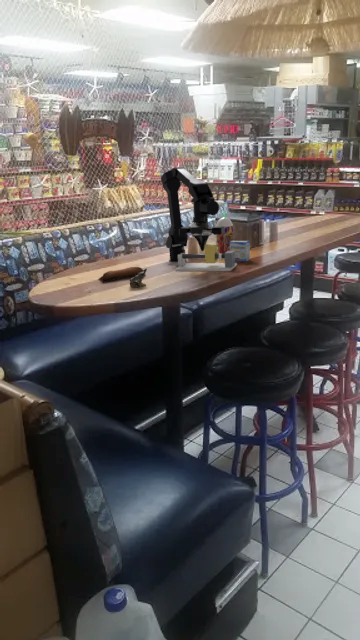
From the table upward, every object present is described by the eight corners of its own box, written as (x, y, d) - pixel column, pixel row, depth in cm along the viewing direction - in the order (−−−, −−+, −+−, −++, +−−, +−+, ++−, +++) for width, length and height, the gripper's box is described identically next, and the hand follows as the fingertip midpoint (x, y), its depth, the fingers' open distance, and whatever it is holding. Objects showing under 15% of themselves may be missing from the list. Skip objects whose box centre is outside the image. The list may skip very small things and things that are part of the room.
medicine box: (230, 261, 231) (229, 241, 229) (233, 259, 235) (233, 240, 232) (246, 261, 228) (246, 242, 225) (250, 259, 231) (249, 240, 229)
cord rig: (175, 270, 220) (174, 254, 218) (184, 264, 230) (183, 249, 228) (230, 271, 211) (229, 254, 209) (237, 265, 222) (236, 249, 220)
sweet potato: (136, 272, 221) (138, 260, 217) (142, 282, 217) (144, 270, 213) (96, 279, 214) (97, 266, 209) (102, 290, 210) (103, 278, 205)
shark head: (144, 286, 202) (142, 268, 201) (153, 285, 196) (151, 267, 196) (127, 288, 197) (125, 270, 196) (136, 288, 192) (134, 269, 191)
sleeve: (205, 263, 218) (204, 245, 215) (208, 260, 222) (207, 243, 220) (214, 263, 216) (213, 245, 214) (217, 260, 221) (216, 243, 219)
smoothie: (234, 254, 245) (233, 211, 239) (217, 255, 246) (215, 213, 239) (233, 251, 253) (232, 210, 247) (216, 252, 253) (214, 211, 247)
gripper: (172, 216, 210) (175, 254, 215) (216, 215, 204) (218, 254, 209) (182, 213, 220) (184, 249, 225) (224, 212, 214) (225, 249, 219)
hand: (202, 250), depth 219 cm, fingers closed
